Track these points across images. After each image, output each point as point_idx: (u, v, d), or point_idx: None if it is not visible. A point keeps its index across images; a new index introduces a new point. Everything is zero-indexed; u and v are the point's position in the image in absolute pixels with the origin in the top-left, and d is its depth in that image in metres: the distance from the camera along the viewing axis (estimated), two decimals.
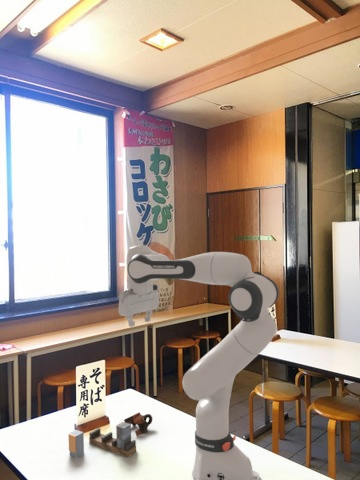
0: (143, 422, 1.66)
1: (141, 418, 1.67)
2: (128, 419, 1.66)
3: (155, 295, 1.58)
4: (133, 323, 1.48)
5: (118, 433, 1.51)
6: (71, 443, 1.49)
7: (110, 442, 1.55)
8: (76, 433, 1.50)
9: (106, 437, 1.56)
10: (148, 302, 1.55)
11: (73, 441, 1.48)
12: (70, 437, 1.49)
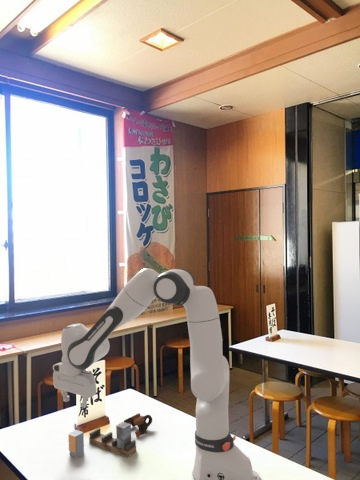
0: (143, 423, 1.66)
1: (141, 419, 1.66)
2: (128, 420, 1.65)
3: None
4: None
5: (118, 433, 1.51)
6: (71, 443, 1.49)
7: (110, 442, 1.55)
8: (76, 433, 1.50)
9: (106, 437, 1.56)
10: None
11: (73, 441, 1.48)
12: (70, 437, 1.49)
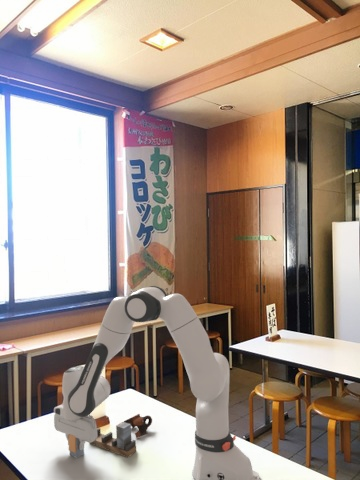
0: (143, 424, 1.65)
1: (141, 420, 1.65)
2: (128, 421, 1.64)
3: None
4: None
5: (118, 433, 1.51)
6: (71, 443, 1.49)
7: (110, 442, 1.55)
8: None
9: (106, 437, 1.56)
10: None
11: (73, 441, 1.48)
12: (70, 437, 1.49)
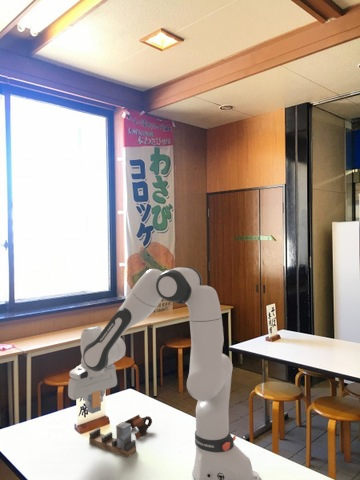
0: (143, 424, 1.64)
1: (141, 420, 1.65)
2: (127, 422, 1.64)
3: None
4: None
5: (118, 433, 1.51)
6: (96, 399, 1.54)
7: (110, 442, 1.55)
8: None
9: (106, 437, 1.56)
10: None
11: (99, 395, 1.55)
12: (95, 394, 1.54)
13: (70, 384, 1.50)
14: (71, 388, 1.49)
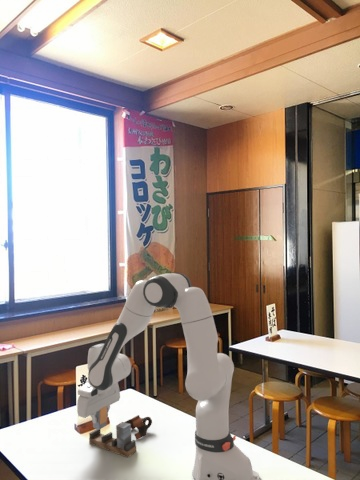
0: (143, 425, 1.64)
1: (140, 421, 1.64)
2: (127, 422, 1.63)
3: None
4: None
5: (118, 433, 1.51)
6: (103, 415, 1.57)
7: (110, 442, 1.55)
8: None
9: (106, 437, 1.56)
10: None
11: (105, 411, 1.58)
12: (102, 410, 1.57)
13: (80, 402, 1.51)
14: (82, 406, 1.50)
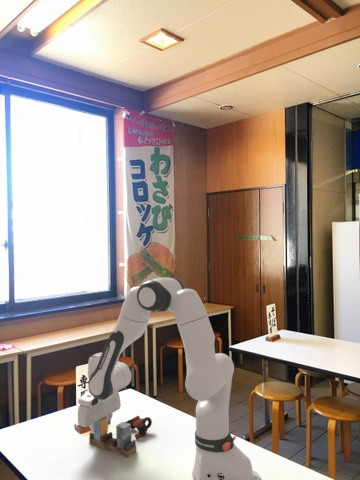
0: (142, 425, 1.63)
1: (140, 421, 1.64)
2: None
3: None
4: None
5: (118, 433, 1.51)
6: (104, 426, 1.57)
7: (110, 442, 1.55)
8: None
9: (106, 437, 1.56)
10: None
11: (106, 422, 1.58)
12: (103, 422, 1.57)
13: (80, 411, 1.51)
14: (82, 415, 1.50)
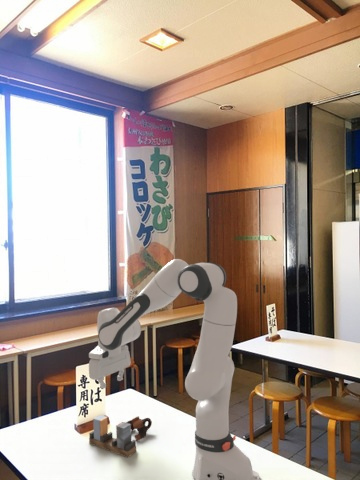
0: (142, 426, 1.63)
1: (140, 422, 1.63)
2: None
3: None
4: None
5: (118, 433, 1.51)
6: (104, 426, 1.57)
7: (110, 442, 1.55)
8: (101, 417, 1.59)
9: (106, 437, 1.56)
10: None
11: (106, 422, 1.58)
12: (103, 422, 1.57)
13: (91, 365, 1.51)
14: (93, 368, 1.50)
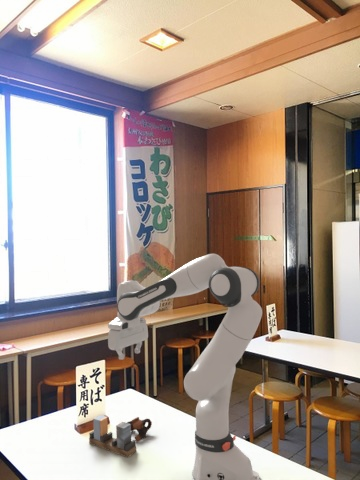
0: (142, 427, 1.62)
1: (140, 423, 1.62)
2: None
3: None
4: None
5: (118, 433, 1.51)
6: (104, 426, 1.57)
7: (110, 442, 1.55)
8: (101, 417, 1.59)
9: (106, 437, 1.56)
10: None
11: (106, 422, 1.58)
12: (103, 422, 1.57)
13: (111, 335, 1.51)
14: (113, 338, 1.50)
